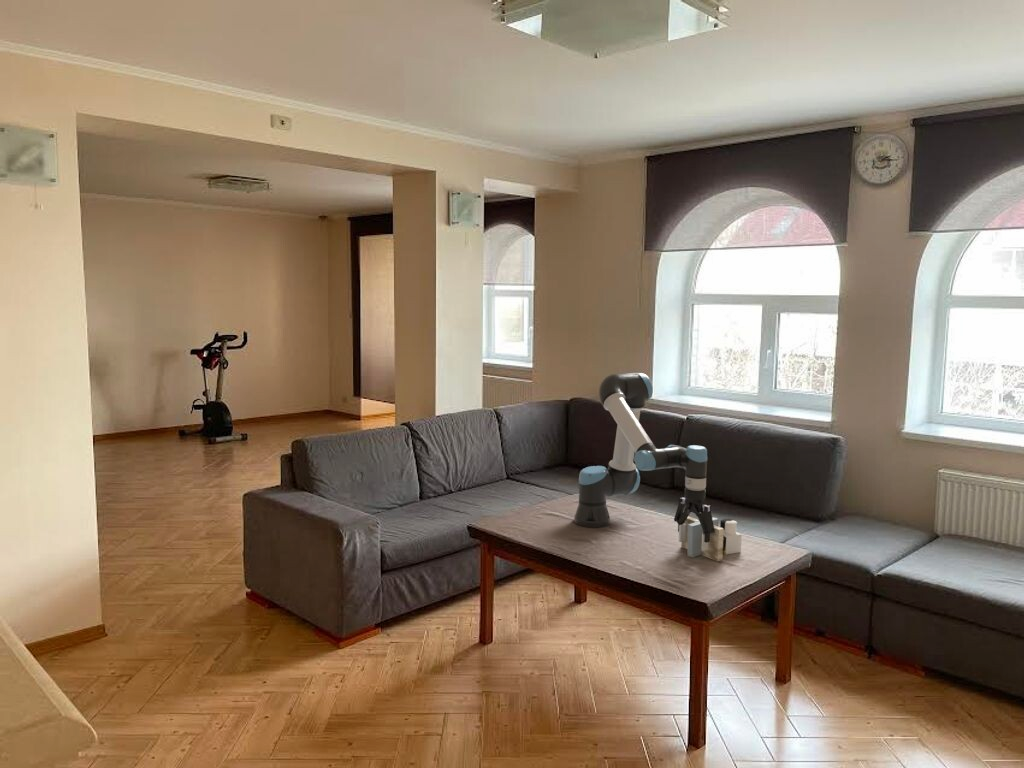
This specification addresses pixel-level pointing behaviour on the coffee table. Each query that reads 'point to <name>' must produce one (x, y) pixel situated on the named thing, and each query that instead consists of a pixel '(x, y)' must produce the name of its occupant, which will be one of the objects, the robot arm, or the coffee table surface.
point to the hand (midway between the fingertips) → (693, 545)
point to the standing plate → (714, 544)
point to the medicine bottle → (730, 536)
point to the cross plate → (696, 538)
